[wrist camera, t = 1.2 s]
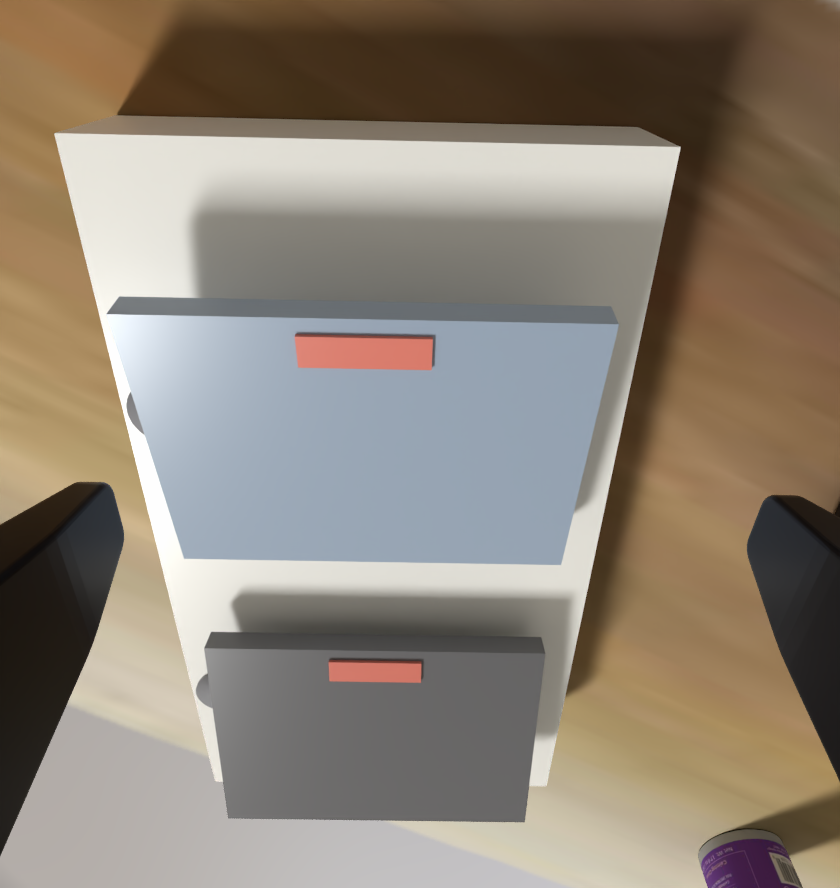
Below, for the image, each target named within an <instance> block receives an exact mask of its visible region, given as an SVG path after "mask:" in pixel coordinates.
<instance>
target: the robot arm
mask: <svg viewBox="0 0 840 888" xmlns="http://www.w3.org/2000/svg"><path fill="white" fill-rule="evenodd" d="M123 542H124V530H123V526H122V522H121V518H120V515H119V511H118V507H117V503H116V500H115V496H114V492H113V490H112V488H111V487H110V485H108V484H107V483H104V482H77V483H74V484H72V485H70V486H68V487H67V488H65V489H63V490H61V491H59V492H58V493H56V494H54V495H52V496H51V497H49V498H47V499H45V500H43V501H42V502H40V503H38V504H36V505H35V506H33V507H31V508H29V509H27V510H26V511H24V512H22V513H20V514H18V515H17V516H15V517H13V518H11V519H10V520H8V521H6V522H4V523H2V524H1V525H0V855H1V853H2V851H3V849H4V846H5V844H6V842H7V839H8V837H9V835H10V832H11V830H12V828H13V826H14V824H15V821H16V819H17V817H18V814H19V812H20V810H21V808H22V805H23V803H24V801H25V798H26V796H27V794H28V792H29V789H30V787H31V785H32V782H33V780H34V778H35V776H36V773H37V771H38V769H39V766H40V764H41V762H42V760H43V757H44V755H45V753H46V750H47V748H48V746H49V744H50V741H51V739H52V737H53V735H54V732H55V730H56V728H57V725H58V723H59V721H60V719H61V716H62V714H63V712H64V709H65V707H66V705H67V703H68V700H69V698H70V696H71V694H72V691H73V689H74V687H75V684H76V682H77V680H78V678H79V675H80V673H81V671H82V668H83V666H84V664H85V662H86V659H87V657H88V654H89V652H90V649H91V647H92V644H93V641H94V639H95V636H96V633H97V630H98V627H99V623H100V620H101V617H102V613H103V610H104V607H105V604H106V600H107V597H108V594H109V590H110V587H111V584H112V581H113V577H114V574H115V571H116V567H117V564H118V561H119V558H120V554H121V551H122V547H123ZM747 554H748V558H749V562H750V565H751V568H752V571H753V574H754V577H755V580H756V582H757V585H758V588H759V591H760V594H761V597H762V600H763V603H764V606H765V609H766V612H767V615H768V618H769V621H770V624H771V627H772V630H773V633H774V636H775V639H776V642H777V644H778V647H779V650H780V652H781V655H782V657H783V659H784V662H785V664H786V666H787V668H788V671H789V673H790V675H791V677H792V679H793V682H794V684H795V686H796V688H797V690H798V692H799V694H800V697H801V699H802V701H803V703H804V705H805V707H806V710H807V712H808V714H809V716H810V718H811V720H812V723H813V725H814V727H815V729H816V731H817V733H818V736H819V738H820V740H821V742H822V744H823V746H824V748H825V751H826V753H827V755H828V757H829V759H830V761H831V764H832V766H833V768H834V770H835V772H836V774H837V777H838V779H839V781H840V504H839V507H838V509H837V511H836V513H835V515H834V514H832V513H830V512H829V511H827V510H825V509H823V508H821V507H819V506H817V505H816V504H814V503H812V502H810V501H808V500H806V499H805V498H803V497H800V496H795V495H771V496H769V497H767V498H766V499H765V500H764V501H763V503H762V505H761V508H760V510H759V513H758V515H757V518H756V521H755V523H754V526H753V528H752V531H751V533H750V536H749V539H748V543H747Z"/></svg>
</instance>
